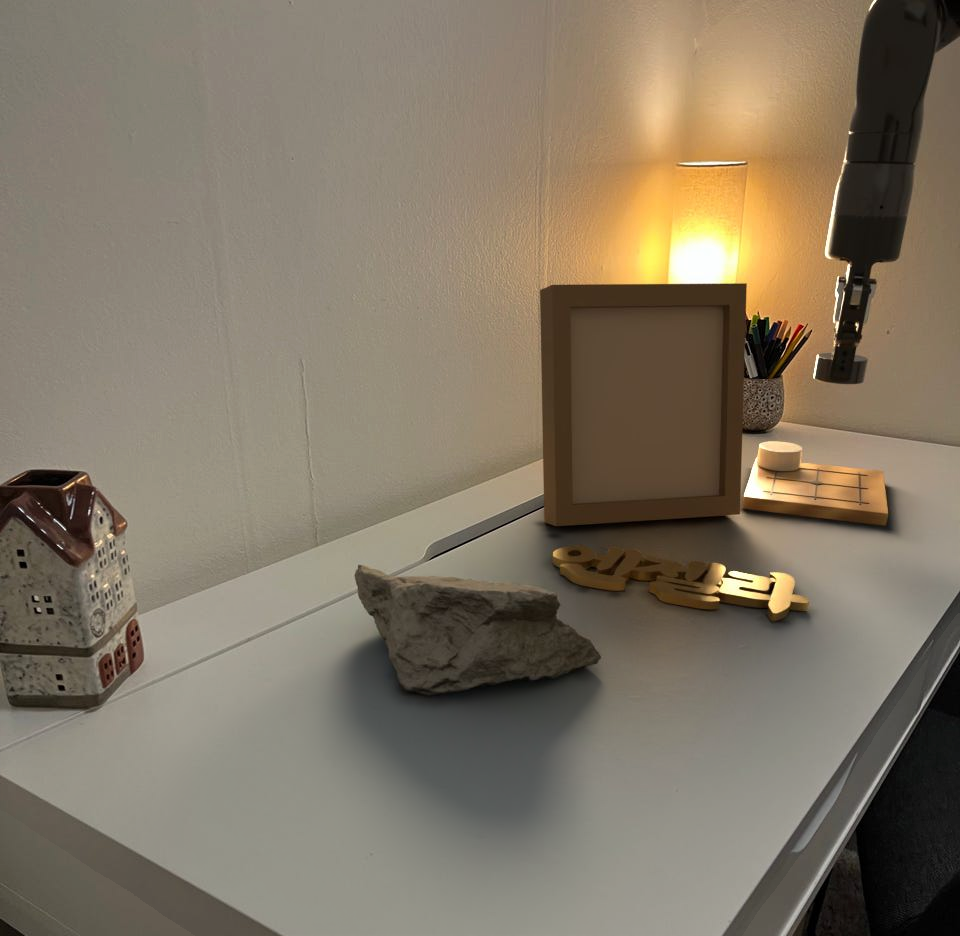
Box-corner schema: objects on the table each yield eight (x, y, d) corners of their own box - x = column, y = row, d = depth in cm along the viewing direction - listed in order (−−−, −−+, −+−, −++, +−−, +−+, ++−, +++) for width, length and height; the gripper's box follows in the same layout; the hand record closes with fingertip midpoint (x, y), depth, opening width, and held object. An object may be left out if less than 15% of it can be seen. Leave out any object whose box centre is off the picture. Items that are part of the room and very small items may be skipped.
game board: (881, 482, 124) (883, 470, 123) (885, 526, 109) (888, 512, 108) (754, 468, 128) (756, 457, 128) (741, 508, 113) (743, 495, 112)
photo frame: (738, 522, 108) (773, 289, 97) (555, 534, 104) (569, 291, 93) (684, 484, 121) (708, 274, 110) (519, 493, 117) (527, 275, 105)
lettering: (534, 579, 92) (534, 570, 92) (566, 545, 100) (567, 537, 100) (803, 626, 84) (804, 617, 83) (813, 585, 92) (815, 576, 92)
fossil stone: (619, 653, 78) (616, 537, 73) (515, 744, 67) (504, 614, 62) (423, 610, 89) (411, 507, 84) (307, 681, 78) (285, 567, 74)
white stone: (800, 462, 126) (803, 443, 125) (798, 473, 121) (801, 454, 120) (758, 457, 127) (761, 439, 126) (754, 468, 123) (757, 449, 122)
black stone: (863, 377, 109) (867, 354, 108) (864, 386, 105) (868, 363, 104) (813, 373, 111) (817, 351, 110) (812, 382, 106) (816, 359, 105)
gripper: (912, 215, 93) (876, 391, 101) (904, 210, 105) (872, 367, 113) (831, 212, 95) (802, 385, 103) (832, 208, 107) (806, 362, 115)
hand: (839, 375), depth 108 cm, fingers closed on black stone, 5 cm apart
